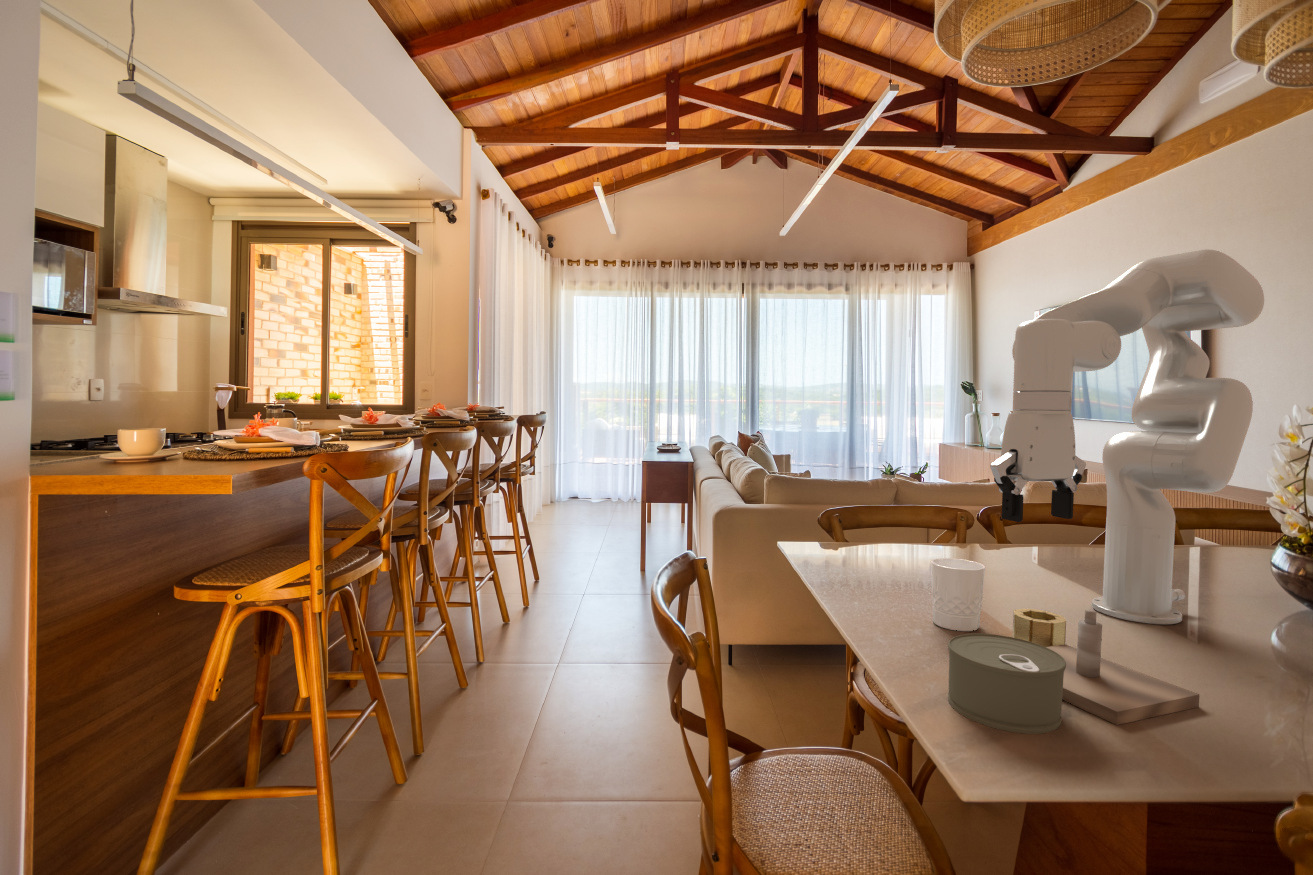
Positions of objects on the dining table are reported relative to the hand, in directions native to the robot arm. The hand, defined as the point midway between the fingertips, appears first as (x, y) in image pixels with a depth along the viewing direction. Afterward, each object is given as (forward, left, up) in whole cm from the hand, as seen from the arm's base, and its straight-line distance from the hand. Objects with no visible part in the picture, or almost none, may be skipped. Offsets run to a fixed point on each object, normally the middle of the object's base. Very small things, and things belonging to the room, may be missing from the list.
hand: (1037, 518), depth 97 cm
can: (+23, +15, -19) cm, 33 cm away
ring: (-1, 0, -19) cm, 19 cm away
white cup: (+5, -10, -19) cm, 22 cm away
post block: (+7, +14, -19) cm, 24 cm away
